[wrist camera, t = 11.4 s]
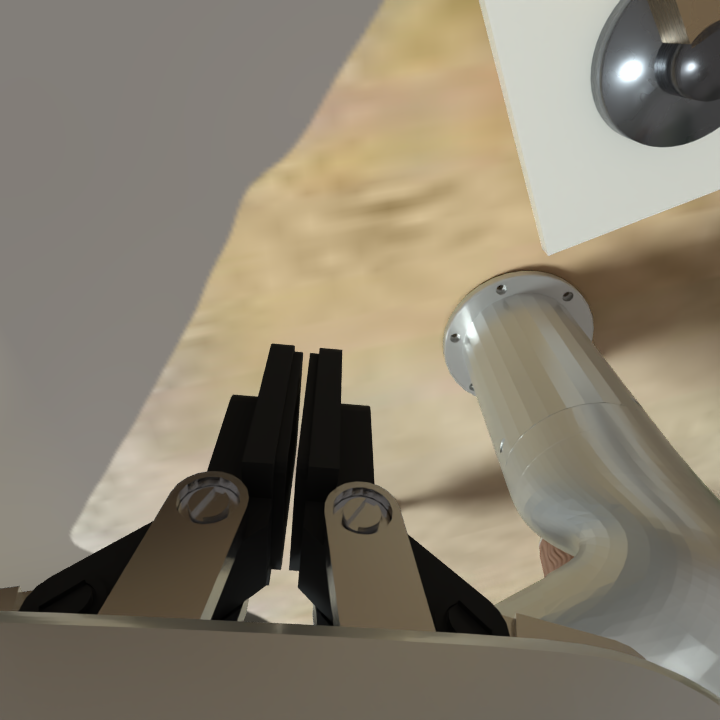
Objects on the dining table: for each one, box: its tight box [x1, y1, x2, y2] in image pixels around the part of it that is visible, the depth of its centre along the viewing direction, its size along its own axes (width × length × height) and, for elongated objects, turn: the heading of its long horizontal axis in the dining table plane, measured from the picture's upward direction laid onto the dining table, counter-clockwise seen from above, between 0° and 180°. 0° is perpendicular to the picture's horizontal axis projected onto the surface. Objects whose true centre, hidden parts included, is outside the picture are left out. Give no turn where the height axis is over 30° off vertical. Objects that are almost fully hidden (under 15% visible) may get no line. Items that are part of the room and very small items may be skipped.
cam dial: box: [590, 0, 720, 147], centre depth 29 cm, size 16×10×5 cm, turn 37°
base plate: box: [479, 0, 720, 256], centre depth 34 cm, size 20×20×2 cm
